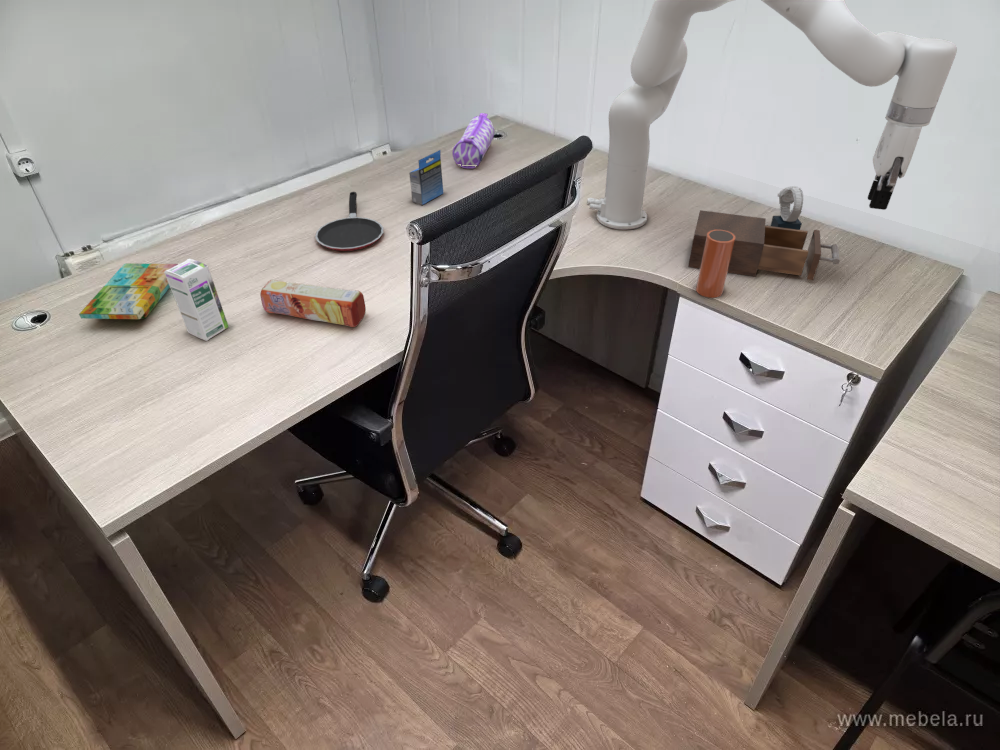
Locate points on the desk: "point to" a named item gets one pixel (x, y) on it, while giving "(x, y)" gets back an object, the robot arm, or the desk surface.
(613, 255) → the desk surface
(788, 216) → the watch
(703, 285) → the pencil cup
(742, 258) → the cabinet
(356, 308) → the snack package
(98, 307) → the puzzle game
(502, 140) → the desk surface
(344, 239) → the frying pan
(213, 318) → the syrup box
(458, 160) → the pencil case
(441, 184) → the tape cartridge
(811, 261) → the drawer
